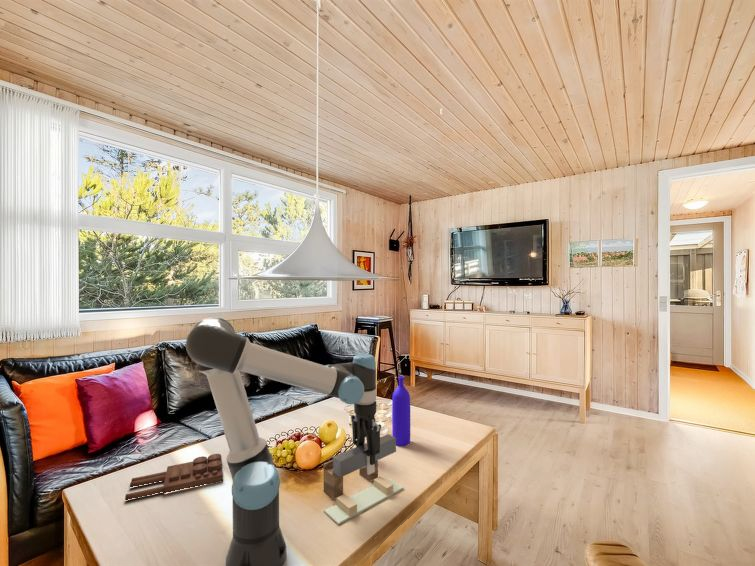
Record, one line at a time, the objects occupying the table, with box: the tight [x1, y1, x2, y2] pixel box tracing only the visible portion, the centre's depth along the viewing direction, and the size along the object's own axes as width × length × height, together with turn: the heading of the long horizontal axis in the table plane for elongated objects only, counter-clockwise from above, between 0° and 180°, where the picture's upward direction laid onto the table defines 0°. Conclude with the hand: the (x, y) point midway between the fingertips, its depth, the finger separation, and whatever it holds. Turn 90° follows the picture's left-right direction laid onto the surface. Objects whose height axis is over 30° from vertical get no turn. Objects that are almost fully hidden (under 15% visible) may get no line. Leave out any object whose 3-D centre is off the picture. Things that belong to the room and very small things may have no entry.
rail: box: [332, 434, 397, 478], centre depth 119 cm, size 24×4×5 cm, turn 131°
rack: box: [323, 459, 379, 500], centre depth 128 cm, size 20×6×10 cm, turn 131°
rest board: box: [323, 476, 404, 526], centre depth 119 cm, size 28×8×3 cm, turn 131°
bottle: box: [391, 375, 411, 447], centre depth 161 cm, size 8×8×30 cm
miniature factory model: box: [124, 453, 224, 501], centre depth 131 cm, size 16×5×30 cm
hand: (366, 470), depth 119 cm, fingers closed on rail, 4 cm apart
